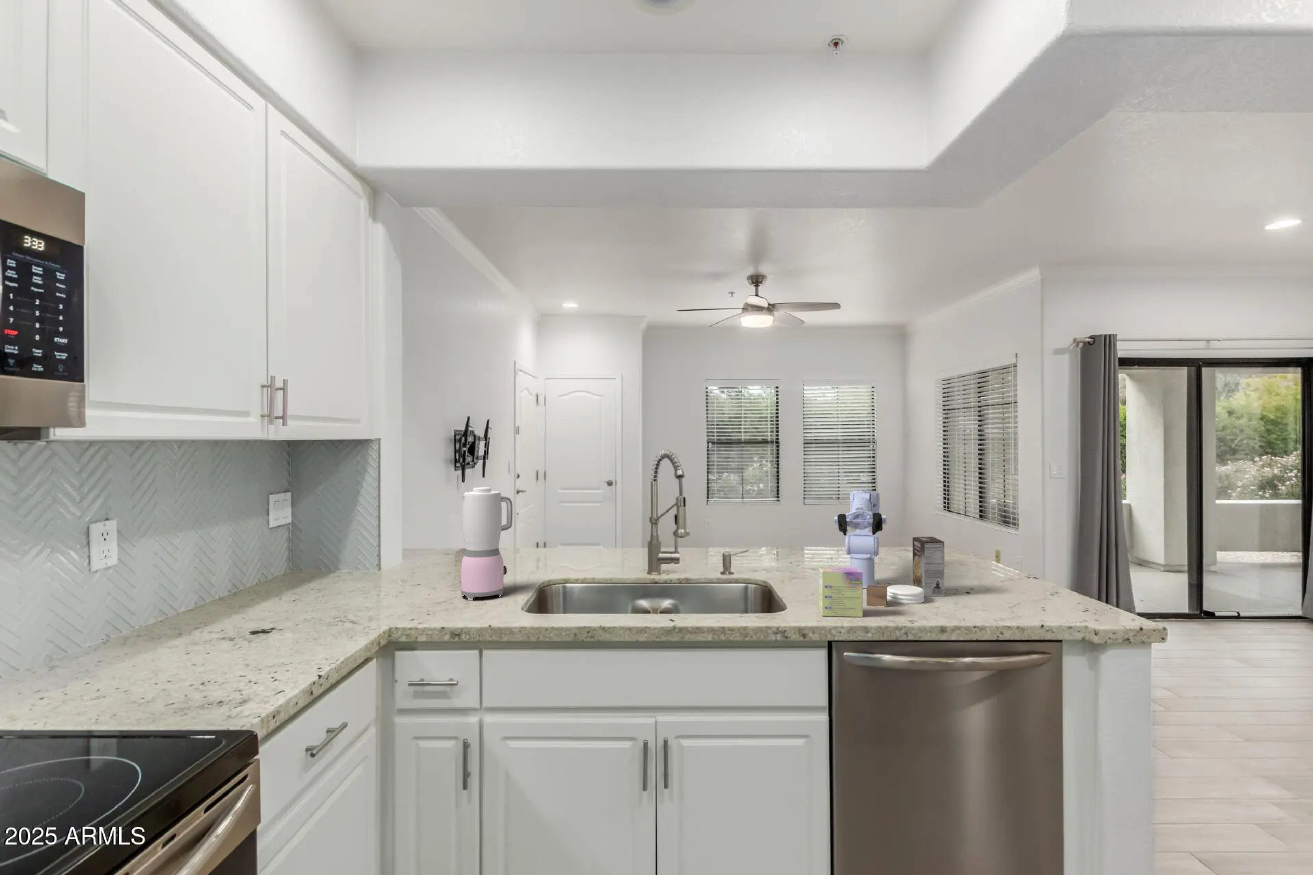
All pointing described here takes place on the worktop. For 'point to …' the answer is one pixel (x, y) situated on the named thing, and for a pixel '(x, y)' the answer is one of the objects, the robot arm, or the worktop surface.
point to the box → (841, 592)
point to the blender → (483, 542)
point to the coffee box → (928, 565)
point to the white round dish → (905, 594)
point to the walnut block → (876, 595)
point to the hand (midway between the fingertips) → (858, 532)
